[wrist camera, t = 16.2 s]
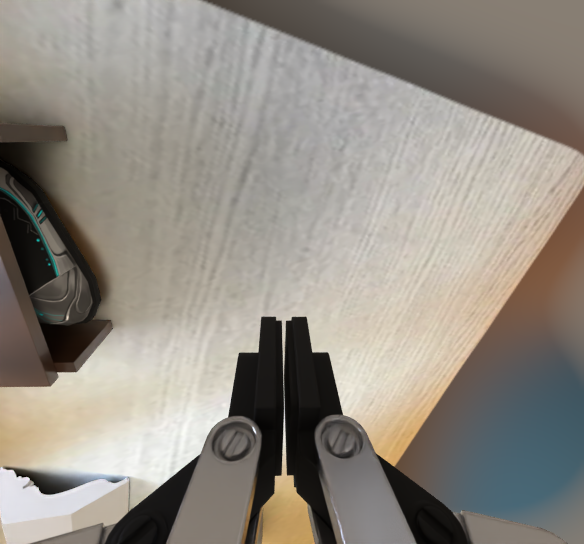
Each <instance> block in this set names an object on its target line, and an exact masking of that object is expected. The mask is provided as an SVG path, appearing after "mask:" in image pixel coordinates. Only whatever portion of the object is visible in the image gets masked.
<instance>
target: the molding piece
mask: <svg viewBox="0 0 584 544" xmlns="http://www.w3.org/2000/svg"><path fill="white" fill-rule="evenodd" d="M33 485H34V482H33V481H30V480H29V478H28V477H24V478H21V476H19V477H16V473H15V472H14V471H13V470H6V469H3V467H1V468H0V512H1V522H2V527H3V531H4V535H5V539H6V543H7V544H30V543H33V542H37V541H40V540H44V539H47V538H51V537H54V536H58V535H61V534H65V533H68V532H72V531H75V530H79V529H82V528H86V527H89V526H93V525H96V524H100V523H104V525H105V526H108V525H112V524H115V523H118V522H119V521H120V520H121V519H122V518H123V517H124V516H125V515H126V514H127V513H128V505H129V479H128V478H126V479H124V480H122V481H120V482H117V483H112V482H111V481H110V482H108V481H107V480H105V479H99V480H94V481H91V482H88V483H86V484H83V485H81V486H78V487H76V488H73V489H71V490H68V491H65V492H62V493H58V494H54V495H44V494H42V493H41V492H40V491H39V487H37V488H36V486H33Z"/></svg>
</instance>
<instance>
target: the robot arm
mask: <svg viewBox="0 0 584 544" xmlns="http://www.w3.org/2000/svg"><path fill="white" fill-rule="evenodd" d="M284 396H285V429H286V461H287V475H294V487H296V490H297V493H298V494H299V495H300V496H301V497H302V498H303V499H304V500H305V501H306V502H307V505H308V513H309V518H310V522H311V527H312V532H313V537H314V541H315V544H568V543H567V542H565V541H564V540H563V539H561V538H559V537H558V536H557V535H555V534H554V533H552V532H550V531H547V530H545V529H542V528H538V527H534V526H529V525H525V524H521V523H517V522H512V521H508V520H503V519H499V518H495V517H490V516H486V515H482V514H477V513H473V512H468V511H464V510H462V512H461V514H459V513H455V512H451V510H449V509H448V508H447V507H446V506H445V505H444V504H443V503H442V502H440V501H439V500H437V499H436V498H435V497H434V496H432V495H431V494H429V493H428V492H427V491H426V490H424V489H423V488H421V487H420V486H419V485H417V484H416V483H415V482H413V481H412V480H411V479H409V478H408V477H407V476H405V475H404V474H403V473H402V472H400V471H399V470H398V469H396V468H395V467H394V466H392V465H391V464H390V463H388V462H387V461H385V460H384V459H383V458H381V457H380V456H379V455H377V454H376V453H375V451H374V449H373V446H372V444H371V442H370V440H369V438H368V435H367V433H366V432H365V430H364V429H363V427H362V426H361V425H360V424H359V423H358V422H357V421H356V420H354V419H352V418H350V417H348V416H344V415H343V413H342V409H341V405H340V400H339V396H338V392H337V387H336V383H335V379H334V374H333V370H332V366H331V361H330V357H329V354H328V352H325V353H312V348H311V342H310V335H309V329H308V323H307V317H292V320H291V321H286V337H285V365H284V387H283V351H282V321H276V317H261V328H260V341H259V353H239V356H238V361H237V367H236V373H235V379H234V385H233V391H232V397H231V403H230V410H229V416H228V418H225V419H224V420H222V421H220V422H218V423H217V424H216V425H215V426H214V427H213V428H212V429H211V431H210V433H209V434H208V436H207V439H206V441H205V444H204V446H203V449H202V452H201V454H200V455H198V456H197V457H196V458H195V459H194V460H192V461H191V462H190V463H189V464H187V465H186V466H185V467H184V468H182V469H181V470H180V471H179V472H177V473H176V474H175V475H174V476H173V477H171V478H170V479H169V480H168V481H166V482H165V483H164V484H163V485H161V486H160V487H159V488H158V489H156V490H155V491H154V492H153V493H152V494H150V495H149V496H148V497H147V498H145V499H144V500H143V501H142V502H140V503H139V504H138V505H137V506H135V507H134V508H133V509H132V510H131V511H129V512H128V513H127V514H126V515H125V516H124V517H123V518H122V519H121V520H120V521H119V522H118V523H115V524H112V525H108V526H105V525H104V523H100V524H96V525H93V526H89V527H86V528H82V529H79V530H75V531H72V532H68V533H65V534H61V535H58V536H54V537H51V538H47V539H44V540H40V541H37V542H33V543H30V544H257V539H258V533H259V527H260V521H261V515H262V506H263V505H264V504H265V503H266V502H267V501H268V500H269V498H270V497H271V496H272V495H273V494H274V486H275V476H281V474H282V448H283V422H284Z"/></svg>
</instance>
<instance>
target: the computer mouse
mask: <svg viewBox="0 0 584 544" xmlns="http://www.w3.org/2000/svg"><path fill="white" fill-rule="evenodd" d="M0 215H1V218H2V221H3V224H4V227H5V229H6V232H7V235H8V238H9V241H10V243H11V246H12V249H13V252H14V255H15V257H16V260H17V263H18V266H19V268H20V271H21V274H22V277H23V280H24V282H25V285H26V288H27V291H28V294H29V296H30V299H31V302H32V305H33V307H34V310H35V313H36V316H37V319H38V321H39V323H44V324H56V325H67V326H68V325H71V324H74V323H75V324H82V323H87V322H89V321H90V320H92V318H93V317H94V316H95V314H96V312H97V309H98V307H99V304H100V302H101V296H100V292H99V288H98V284H97V280H96V277H95V275H94V274H93V272H92V270H91V268H90V267H89V265H88V263H87V262H86V260H85V258H84V257H83V255H82V254H81V252H80V250H79V249H78V247H77V246H76V244H75V242H74V241H73V239H72V238H71V236H70V235H69V233H68V231H67V230H66V228H65V227H64V225H63V224H62V222H61V220H60V219H59V217H58V215H57V214H56V212H55V210H54V209H53V207H52V205H51V203H50V202H49V200H48V198H47V197H46V195H45V193H44V192H43V191H42V190H41V189H40V187H39V186H38V185H37V184H36V183H35V182H34V181H33V180H32V179H31V178H29V177H28V176H26V175H24V174H23V173H22V172H20V171H19V170H17V169H16V168H15V167H13V166H11V165H9V164H7V163H5V162H3V161H2V160H0Z"/></svg>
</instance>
